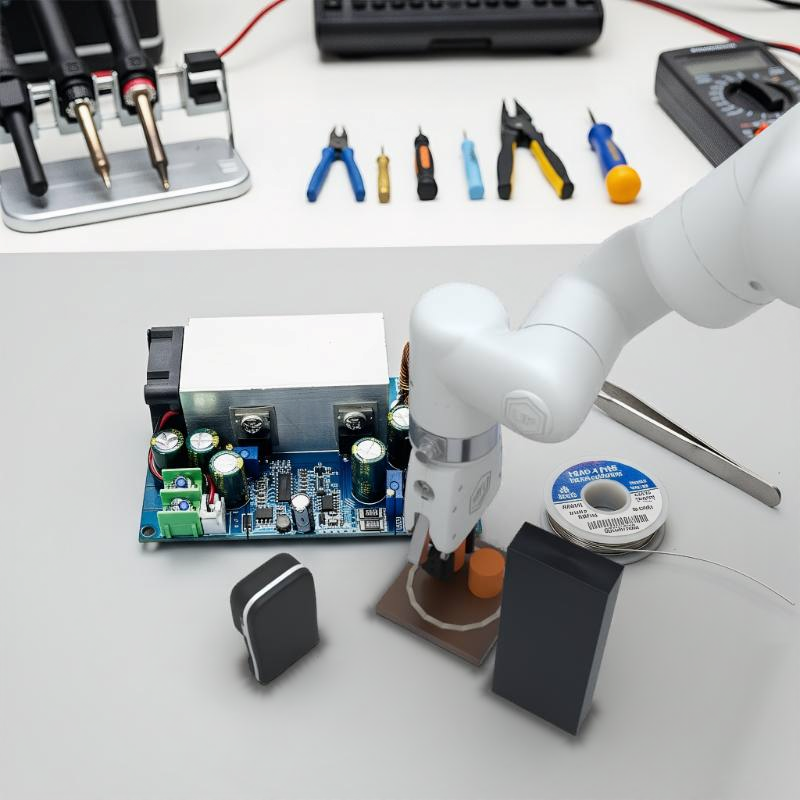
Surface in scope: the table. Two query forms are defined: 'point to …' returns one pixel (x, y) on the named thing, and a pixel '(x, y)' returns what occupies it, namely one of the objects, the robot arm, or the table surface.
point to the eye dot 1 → (459, 556)
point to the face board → (445, 609)
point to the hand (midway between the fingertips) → (447, 558)
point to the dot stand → (553, 625)
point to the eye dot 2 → (486, 573)
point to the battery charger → (276, 614)
